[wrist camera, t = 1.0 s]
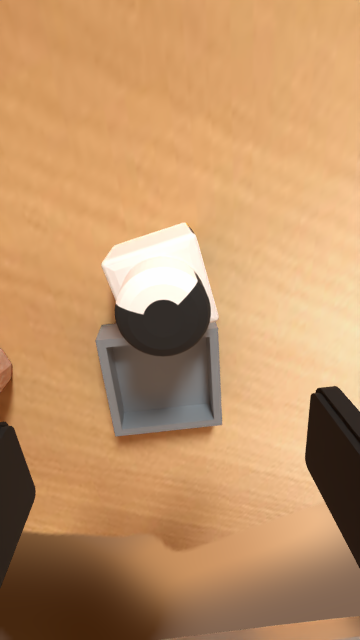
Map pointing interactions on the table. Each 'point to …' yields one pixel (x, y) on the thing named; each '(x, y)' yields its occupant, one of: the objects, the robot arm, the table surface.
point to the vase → (4, 370)
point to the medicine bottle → (161, 291)
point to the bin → (160, 384)
